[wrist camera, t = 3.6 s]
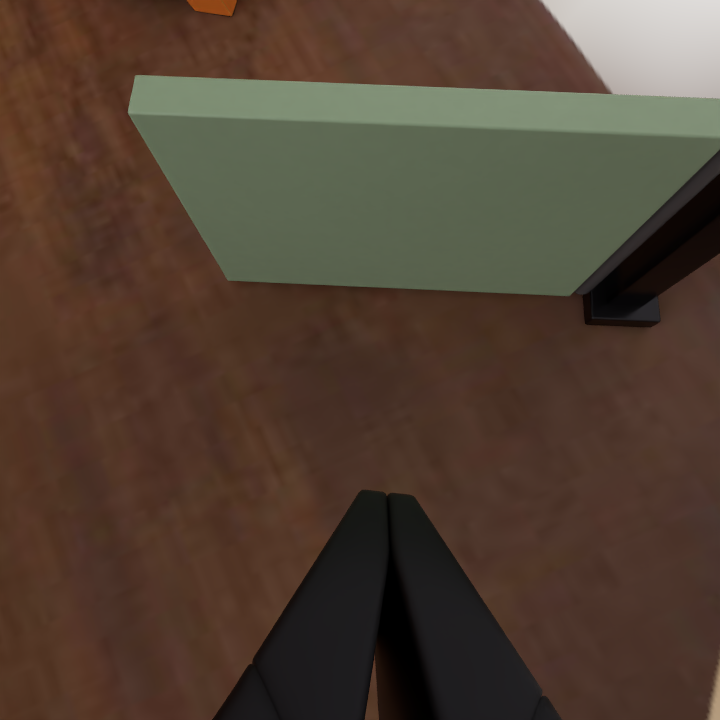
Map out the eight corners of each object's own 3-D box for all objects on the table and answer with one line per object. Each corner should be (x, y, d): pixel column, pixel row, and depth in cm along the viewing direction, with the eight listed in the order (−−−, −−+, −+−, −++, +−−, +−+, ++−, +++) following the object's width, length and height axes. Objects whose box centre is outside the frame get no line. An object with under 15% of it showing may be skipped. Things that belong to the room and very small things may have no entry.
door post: (644, 267, 23) (811, 130, 15) (651, 327, 23) (831, 221, 14) (579, 264, 24) (708, 126, 15) (584, 324, 23) (722, 216, 14)
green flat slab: (587, 234, 23) (753, 39, 13) (592, 297, 22) (774, 139, 12) (235, 218, 23) (146, 16, 13) (227, 281, 22) (126, 112, 13)
